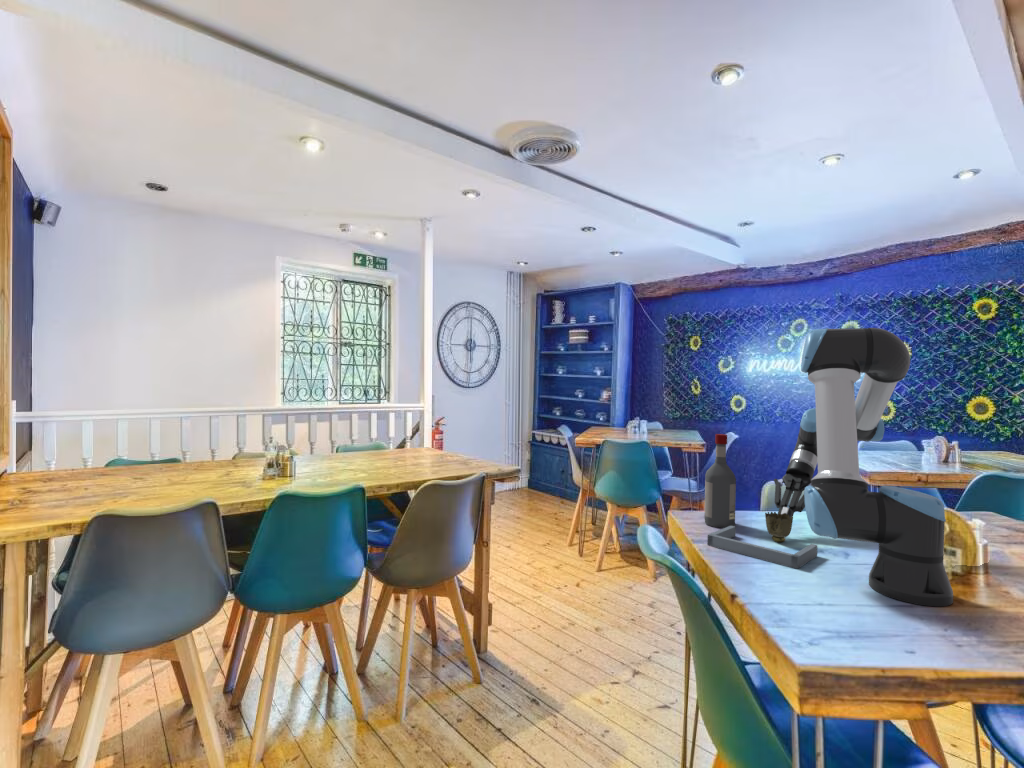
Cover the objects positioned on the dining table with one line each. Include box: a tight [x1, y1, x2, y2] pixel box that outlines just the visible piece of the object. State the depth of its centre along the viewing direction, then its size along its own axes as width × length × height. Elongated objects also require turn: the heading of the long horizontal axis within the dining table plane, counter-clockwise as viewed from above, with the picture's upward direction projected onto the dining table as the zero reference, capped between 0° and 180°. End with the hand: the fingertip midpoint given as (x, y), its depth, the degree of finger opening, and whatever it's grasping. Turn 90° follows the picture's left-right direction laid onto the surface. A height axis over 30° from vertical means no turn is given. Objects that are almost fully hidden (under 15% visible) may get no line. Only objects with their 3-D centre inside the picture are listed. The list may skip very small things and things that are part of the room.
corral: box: [706, 525, 818, 570], centre depth 143 cm, size 24×15×3 cm, turn 42°
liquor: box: [703, 433, 737, 529], centre depth 169 cm, size 9×9×30 cm
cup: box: [764, 511, 794, 543], centre depth 151 cm, size 8×7×8 cm
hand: (780, 527), depth 155 cm, fingers closed
